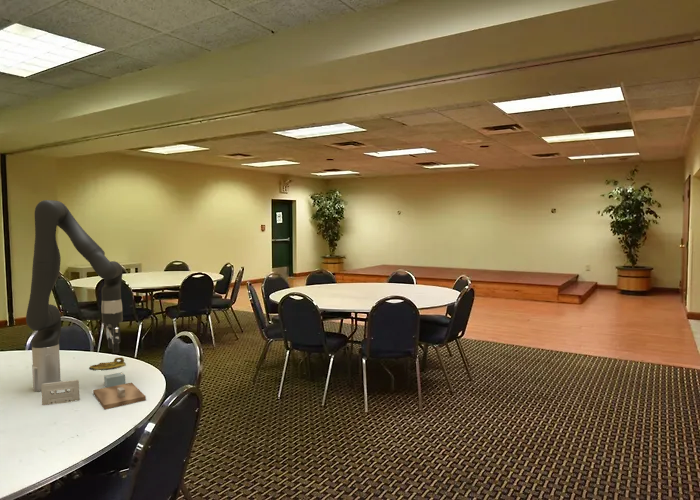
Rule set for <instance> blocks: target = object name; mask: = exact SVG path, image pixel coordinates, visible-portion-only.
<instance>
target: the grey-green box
mask: <svg viewBox="0 0 700 500" xmlns="http://www.w3.org/2000/svg"><path fill="white" fill-rule="evenodd" d="M103 377H104V379H103V380H104V382H103V383H104V386H105V388H106V387H112V386H117V385H122V384H126V374H125V373H124V372H123V371H122V372H116V373H111V374H106V375H103Z"/></svg>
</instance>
